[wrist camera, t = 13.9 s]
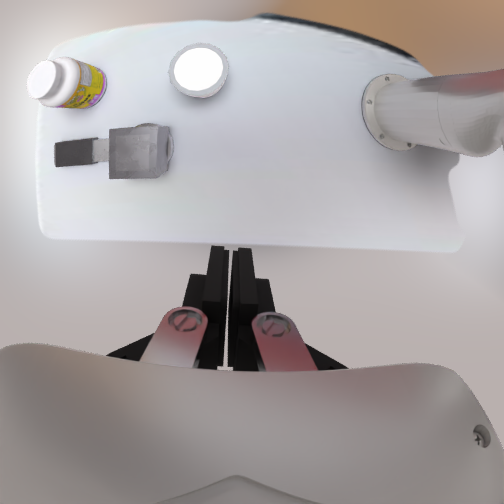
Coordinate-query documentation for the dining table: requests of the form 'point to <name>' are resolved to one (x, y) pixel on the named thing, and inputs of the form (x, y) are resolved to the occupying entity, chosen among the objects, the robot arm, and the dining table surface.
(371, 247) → the dining table surface
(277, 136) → the dining table surface
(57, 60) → the supplement bottle
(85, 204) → the dining table surface
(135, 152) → the grey cube
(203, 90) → the white cup
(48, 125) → the dining table surface
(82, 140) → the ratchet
